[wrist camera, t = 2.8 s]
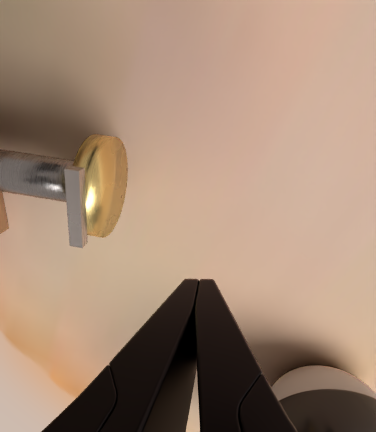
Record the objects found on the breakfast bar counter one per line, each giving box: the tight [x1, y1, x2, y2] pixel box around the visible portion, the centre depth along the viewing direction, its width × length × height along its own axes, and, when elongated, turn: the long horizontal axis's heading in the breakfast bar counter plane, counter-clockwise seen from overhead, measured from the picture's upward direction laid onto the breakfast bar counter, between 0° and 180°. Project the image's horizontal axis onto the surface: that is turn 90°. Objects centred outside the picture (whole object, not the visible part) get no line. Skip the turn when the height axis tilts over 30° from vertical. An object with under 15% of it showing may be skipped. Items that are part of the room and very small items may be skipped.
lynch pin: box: [0, 134, 128, 248], centre depth 14 cm, size 10×5×6 cm, turn 83°
